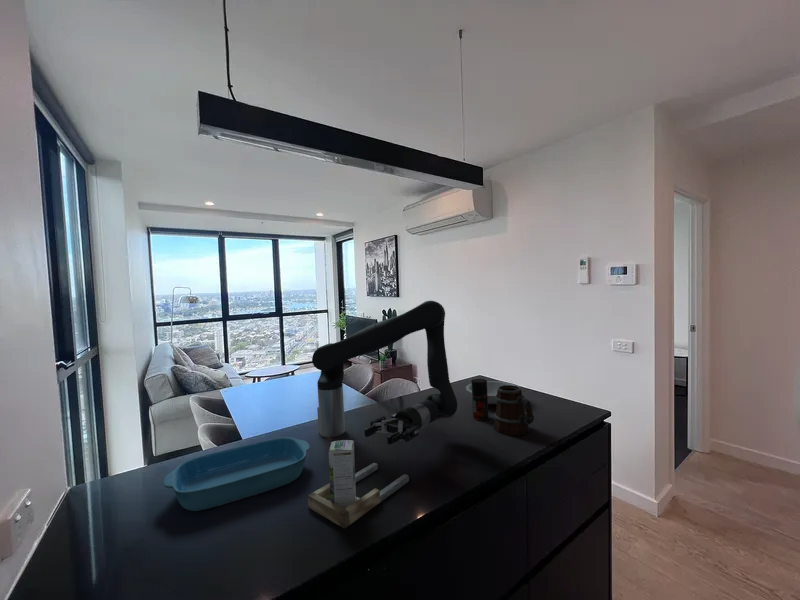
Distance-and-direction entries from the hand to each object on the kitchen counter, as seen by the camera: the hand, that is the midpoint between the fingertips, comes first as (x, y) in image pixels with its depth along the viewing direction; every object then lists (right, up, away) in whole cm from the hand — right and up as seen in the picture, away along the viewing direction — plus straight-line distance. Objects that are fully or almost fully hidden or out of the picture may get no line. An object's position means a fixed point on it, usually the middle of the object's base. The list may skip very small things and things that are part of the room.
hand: (376, 436), depth 93 cm
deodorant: (+39, -10, +43) cm, 58 cm away
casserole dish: (-37, -15, +3) cm, 40 cm away
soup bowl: (+49, -9, +62) cm, 79 cm away
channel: (0, -12, -1) cm, 12 cm away
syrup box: (-7, -13, -10) cm, 18 cm away
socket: (-7, -13, -10) cm, 18 cm away
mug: (+48, -10, +29) cm, 57 cm away
